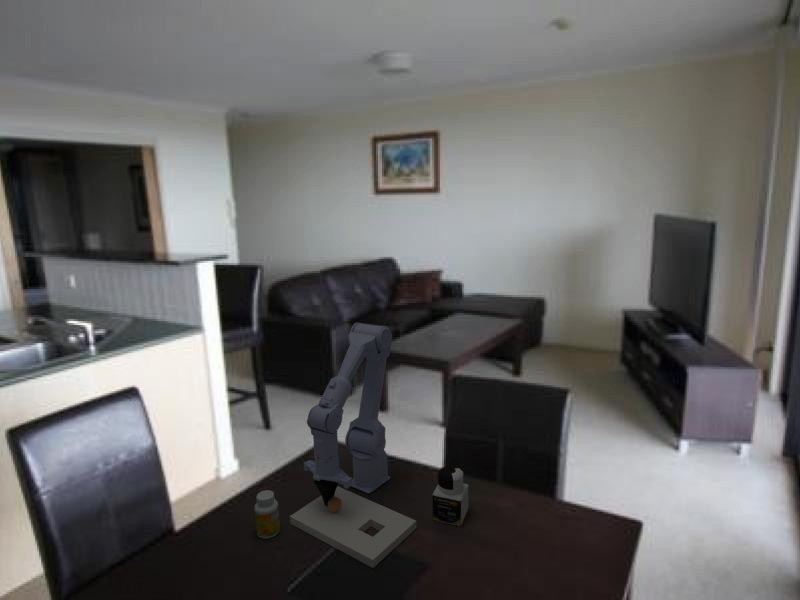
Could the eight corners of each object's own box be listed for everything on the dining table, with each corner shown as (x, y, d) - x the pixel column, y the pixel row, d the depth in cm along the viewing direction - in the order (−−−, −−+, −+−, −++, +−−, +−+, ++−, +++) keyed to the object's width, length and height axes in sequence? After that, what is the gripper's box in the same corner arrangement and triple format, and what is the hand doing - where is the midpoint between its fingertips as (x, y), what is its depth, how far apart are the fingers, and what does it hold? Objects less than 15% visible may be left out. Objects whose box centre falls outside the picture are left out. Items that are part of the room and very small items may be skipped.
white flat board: (290, 523, 125) (289, 516, 124) (336, 492, 137) (335, 485, 137) (373, 568, 109) (372, 560, 109) (416, 528, 122) (416, 520, 121)
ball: (333, 502, 129) (335, 491, 127) (344, 509, 127) (345, 498, 125) (323, 509, 126) (324, 498, 125) (334, 517, 124) (335, 506, 123)
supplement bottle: (251, 535, 121) (248, 498, 119) (267, 522, 126) (264, 486, 123) (269, 542, 118) (266, 504, 116) (284, 528, 123) (281, 491, 121)
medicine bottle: (432, 520, 125) (431, 475, 122) (441, 503, 131) (440, 460, 129) (461, 526, 122) (461, 481, 119) (468, 509, 128) (468, 465, 126)
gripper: (293, 451, 125) (296, 501, 128) (336, 470, 117) (339, 523, 119) (314, 440, 131) (317, 488, 134) (357, 457, 122) (359, 508, 125)
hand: (329, 504), depth 127 cm, fingers closed, pressing on ball
